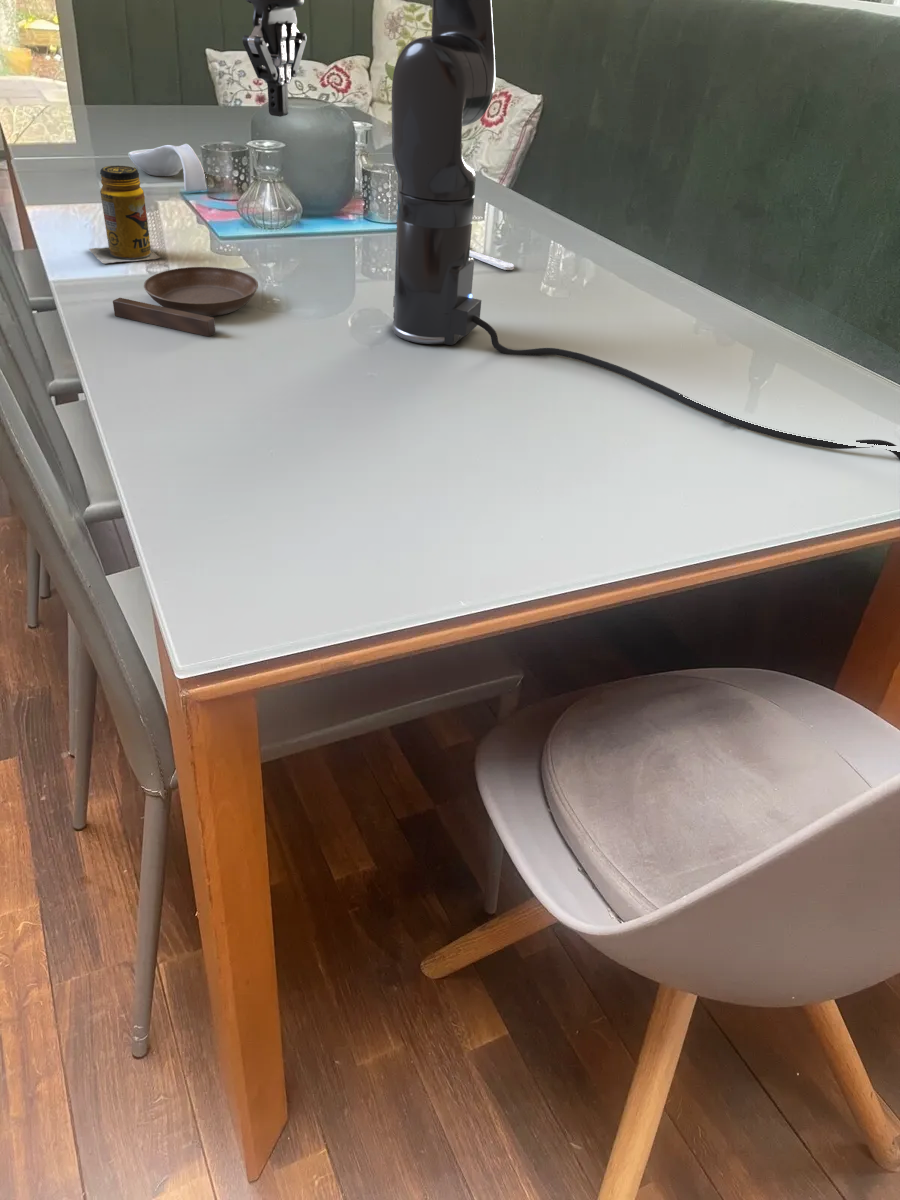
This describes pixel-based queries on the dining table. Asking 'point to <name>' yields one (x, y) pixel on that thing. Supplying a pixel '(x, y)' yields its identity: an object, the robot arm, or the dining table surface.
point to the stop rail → (164, 317)
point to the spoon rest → (172, 164)
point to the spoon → (492, 260)
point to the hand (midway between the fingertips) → (278, 115)
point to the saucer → (202, 290)
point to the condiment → (124, 217)
